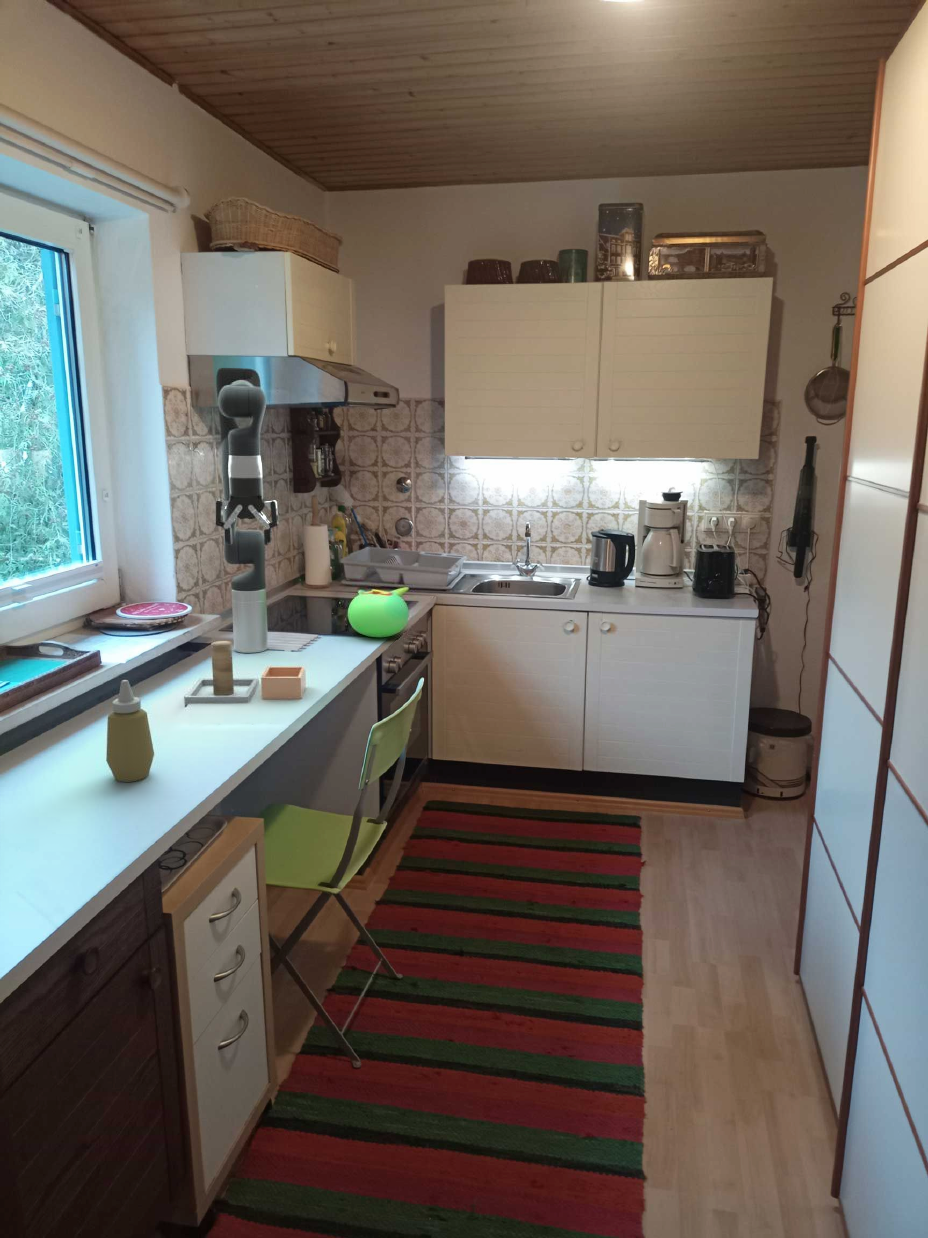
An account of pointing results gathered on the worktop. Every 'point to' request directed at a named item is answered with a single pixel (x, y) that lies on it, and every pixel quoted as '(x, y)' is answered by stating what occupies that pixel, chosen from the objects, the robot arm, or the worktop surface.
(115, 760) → the squeeze bottle
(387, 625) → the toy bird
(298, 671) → the terracotta box
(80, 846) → the worktop surface
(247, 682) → the slate tray
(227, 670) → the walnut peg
